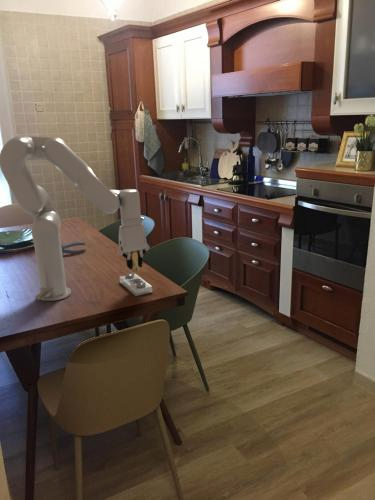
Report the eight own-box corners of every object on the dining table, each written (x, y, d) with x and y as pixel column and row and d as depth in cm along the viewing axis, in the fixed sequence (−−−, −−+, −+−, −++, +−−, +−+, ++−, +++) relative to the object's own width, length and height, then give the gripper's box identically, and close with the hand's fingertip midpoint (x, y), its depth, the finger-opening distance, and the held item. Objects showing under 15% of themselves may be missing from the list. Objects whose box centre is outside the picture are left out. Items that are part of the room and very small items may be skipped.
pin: (137, 271, 170) (136, 252, 168) (129, 271, 171) (128, 251, 169) (140, 268, 174) (139, 249, 171) (132, 268, 174) (130, 249, 172)
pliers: (45, 258, 215) (44, 246, 214) (45, 257, 217) (43, 245, 216) (86, 252, 223) (85, 241, 221) (85, 251, 224) (84, 240, 223)
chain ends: (152, 292, 169) (151, 283, 168) (135, 296, 166) (134, 287, 165) (135, 279, 183) (135, 271, 182) (120, 282, 180) (119, 274, 179)
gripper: (147, 217, 174) (150, 261, 179) (107, 223, 166) (111, 268, 172) (155, 220, 167) (157, 266, 173) (114, 227, 160) (118, 274, 165)
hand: (134, 266), depth 172 cm, fingers closed on pin, 3 cm apart
